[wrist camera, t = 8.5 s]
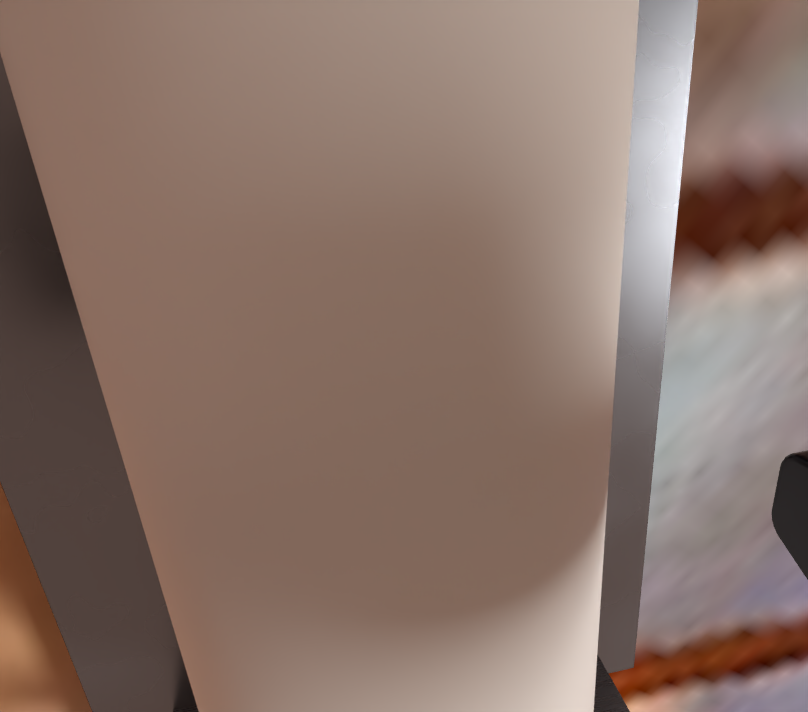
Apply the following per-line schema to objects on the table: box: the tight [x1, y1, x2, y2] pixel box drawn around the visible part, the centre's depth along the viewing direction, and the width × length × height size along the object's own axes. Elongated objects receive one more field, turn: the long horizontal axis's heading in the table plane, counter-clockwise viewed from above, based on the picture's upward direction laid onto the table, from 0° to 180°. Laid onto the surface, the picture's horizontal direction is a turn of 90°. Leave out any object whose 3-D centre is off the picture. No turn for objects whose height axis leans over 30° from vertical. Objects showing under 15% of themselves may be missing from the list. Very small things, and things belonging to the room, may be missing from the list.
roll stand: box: [0, 0, 698, 712], centre depth 10 cm, size 12×19×6 cm, turn 6°
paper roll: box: [0, 0, 639, 712], centre depth 9 cm, size 17×6×6 cm, turn 6°
